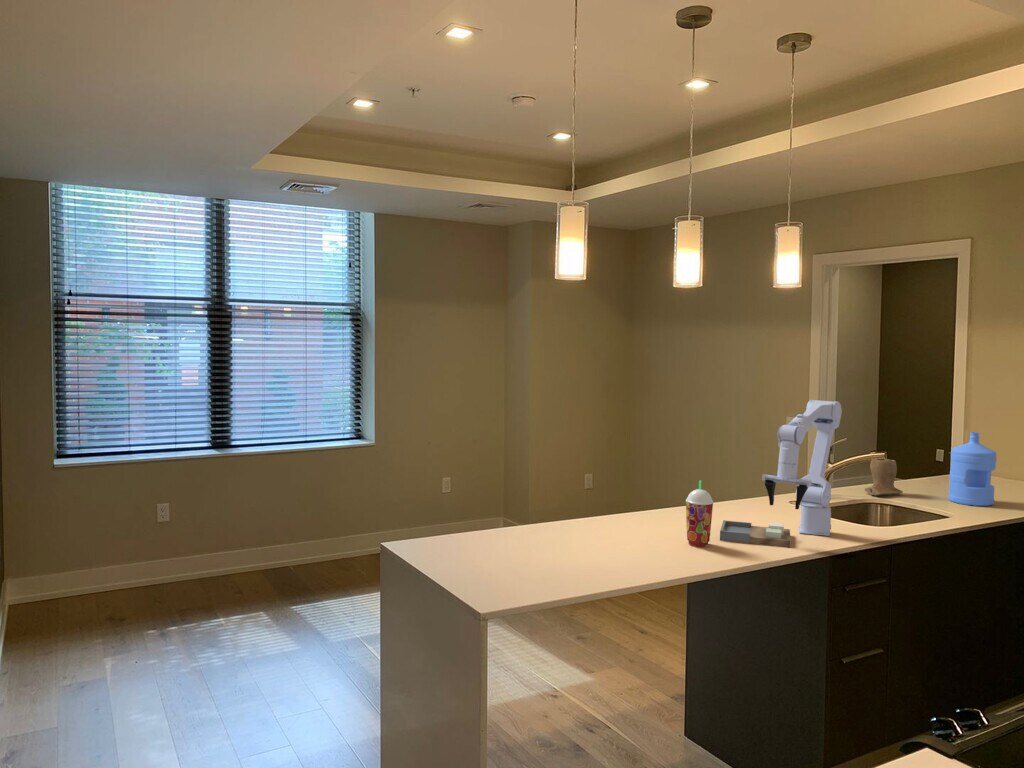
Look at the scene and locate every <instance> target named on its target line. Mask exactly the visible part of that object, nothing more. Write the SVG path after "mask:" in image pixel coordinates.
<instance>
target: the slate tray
mask: <svg viewBox="0 0 1024 768" xmlns="http://www.w3.org/2000/svg"><path fill="white" fill-rule="evenodd" d="M751 526H752V522H746V521H734V520H722V523H721V527H720V530H719V541H721V542H722V541H723V542H731V543H733V542H734V543H742V544H743V543H744V544H751V543H750V532H751Z"/></svg>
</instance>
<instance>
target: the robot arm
mask: <svg viewBox="0 0 1024 768" xmlns="http://www.w3.org/2000/svg"><path fill="white" fill-rule="evenodd" d="M805 409H806V410H805V411H804V412H803V414H801V413H799V414H797V415H796V416H795V417H794V418H793V419H792V420H791V421H789V423H788V424H783V425H781V426H779V428H778V429H777V430H778V431H777V436H776V437H777V441H778V444H777V446H778V448H779V453H778V464H777V475H773V474H772V475H771V474H765V473H764V474H762V475H761V476H762V478H761V481H764V486H765V489H766V492H767V494H768V500H769V502H768V503H769V506H774V502H775V491H776V486H777V485H776V484H777V483H779V484H786V485H792V486H796V490H795V499H796V500H795V506H794V507H795V510H799V508H800V525H799V526H798V533H799V534H804V535H805V534H807V535H815V536H828V537H830V536H831V530H832V524H831V522H832V520H831V519H832V509H831V507H830V506H829V504H830V502H831V499H832V498H831V497H832V485H831V483H830V482H829V481H828V480H827V479H826V478H825V476H826V475H825V474H826V470H827V464H828V461H829V454H830V451H831V450H830V449H831V445H832V440H833V435H834V431H835V430H836V429H838V428H839V427H840V423H841V419H842V414H843V413H842V404H841V403H840V401H836V400H835V401H831V400H819V399H817V400H816V399H810V400H809V401H808V402H807V404H806V408H805ZM812 426H813V427H815V429H817V431H816V435H815V436H816V437H815V440H814V446H813V451H812V456H811V460H810V466H809V470H808V474H807V475H805V476H803V477H802V478H798V467H799V456H800V445H802V444H803V442H804V440H805V439H804V438H805V436H806V434H807V432H809V430H811V428H812Z"/></svg>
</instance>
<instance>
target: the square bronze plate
mask: <svg viewBox="0 0 1024 768" xmlns="http://www.w3.org/2000/svg"><path fill="white" fill-rule="evenodd" d="M766 528H769V526H759V525H757V526H755V525H751V532H750V543H749V544H754V545H763V546H775V547H781V548H782V547H785V548H791V542H792V541H791V529H789V528H784V535H782V534H781V539H779V538H768V537H766Z"/></svg>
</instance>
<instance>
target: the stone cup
mask: <svg viewBox="0 0 1024 768" xmlns="http://www.w3.org/2000/svg"><path fill="white" fill-rule="evenodd" d="M884 459H885V458H884ZM869 467H870V468H869V469H870V472H871V475H872V476H871V477H872V481H873V484H872V485H871V486H870V487H866V488H864V491H865V493H867V494H868V495H869V496H872V495H874V496H877V497H880V496H879V495H881V496H891V495H898V494H903V490H902V489H898V488H896V487H895V486H894V485H895V479H896V476H897V472H898V470H897V469H898V466H897V462H896V460H894V459H888V458H886V459H885V460H875V461H871V460H870V466H869Z"/></svg>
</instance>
